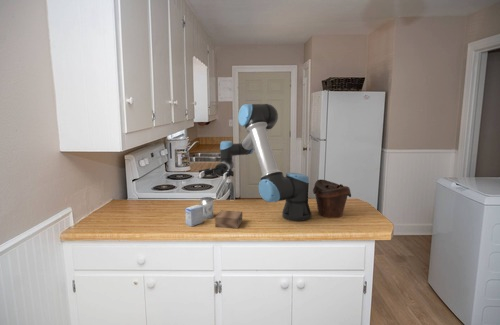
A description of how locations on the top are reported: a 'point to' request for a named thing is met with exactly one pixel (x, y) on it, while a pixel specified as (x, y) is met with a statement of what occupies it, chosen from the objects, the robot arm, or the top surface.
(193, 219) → the medicine box
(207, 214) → the food tin
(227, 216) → the walnut block
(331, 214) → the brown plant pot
